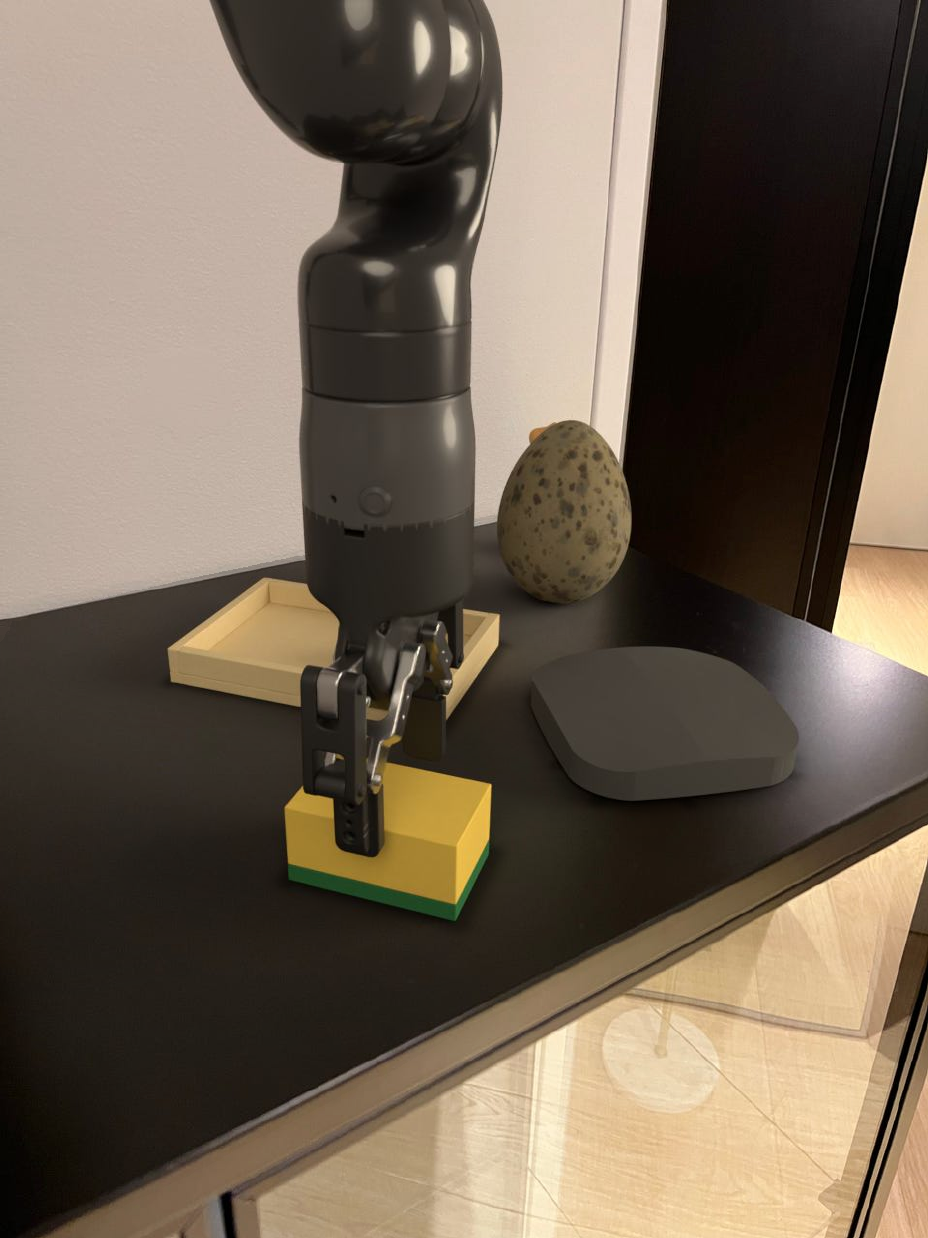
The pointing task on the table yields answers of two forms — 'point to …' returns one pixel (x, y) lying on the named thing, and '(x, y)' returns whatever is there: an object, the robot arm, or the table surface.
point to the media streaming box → (661, 723)
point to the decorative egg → (565, 515)
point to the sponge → (399, 843)
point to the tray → (293, 646)
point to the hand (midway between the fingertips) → (394, 800)
